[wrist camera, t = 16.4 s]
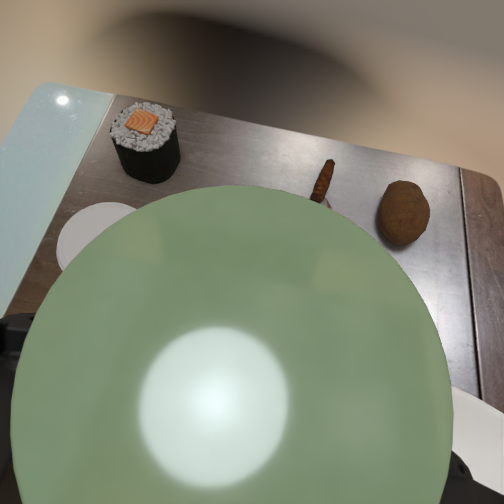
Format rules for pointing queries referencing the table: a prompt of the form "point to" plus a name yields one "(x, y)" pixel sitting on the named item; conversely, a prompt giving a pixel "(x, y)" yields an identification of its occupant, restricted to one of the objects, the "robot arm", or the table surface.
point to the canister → (232, 364)
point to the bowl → (479, 439)
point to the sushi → (146, 142)
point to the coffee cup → (87, 228)
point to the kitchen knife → (323, 184)
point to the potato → (403, 212)
